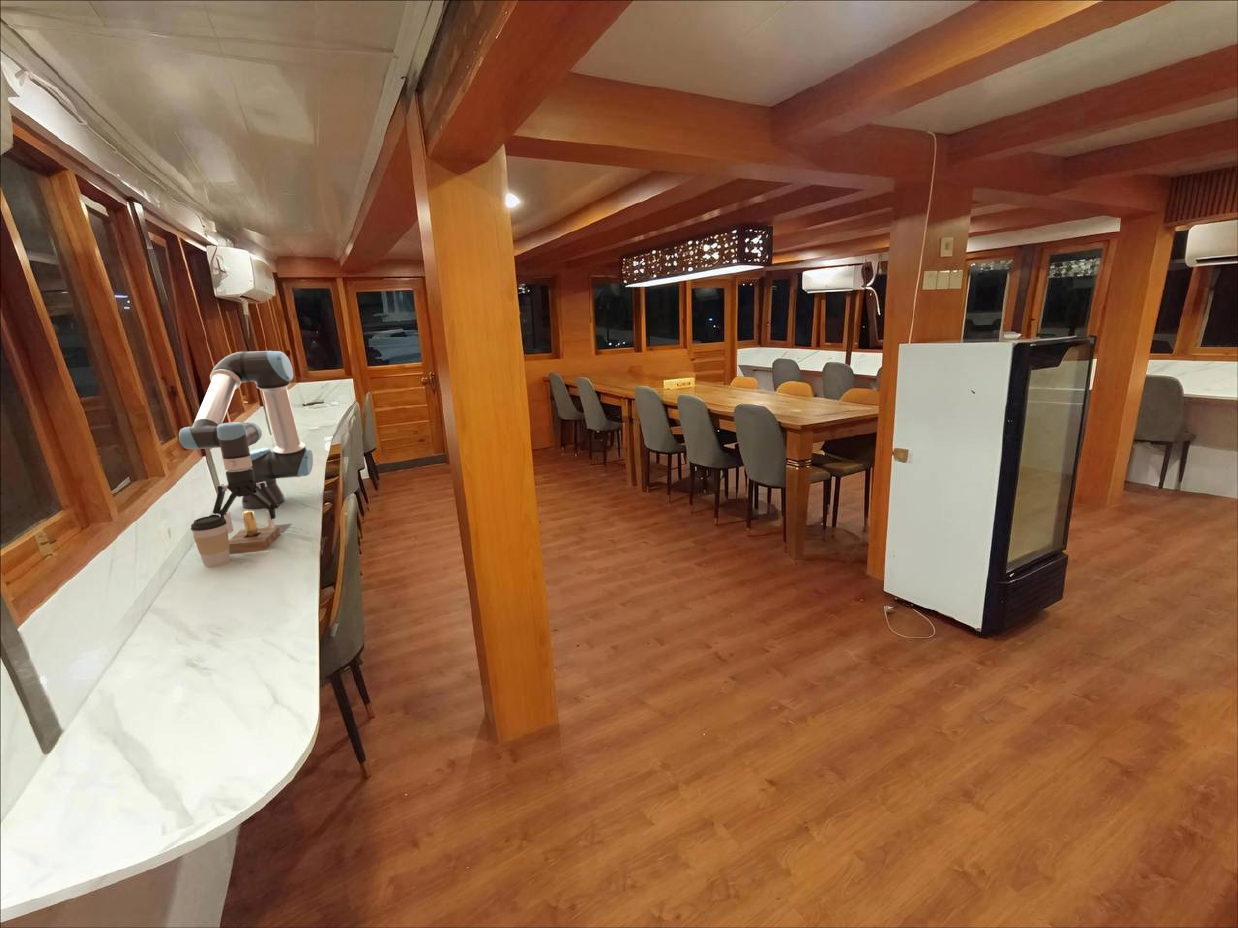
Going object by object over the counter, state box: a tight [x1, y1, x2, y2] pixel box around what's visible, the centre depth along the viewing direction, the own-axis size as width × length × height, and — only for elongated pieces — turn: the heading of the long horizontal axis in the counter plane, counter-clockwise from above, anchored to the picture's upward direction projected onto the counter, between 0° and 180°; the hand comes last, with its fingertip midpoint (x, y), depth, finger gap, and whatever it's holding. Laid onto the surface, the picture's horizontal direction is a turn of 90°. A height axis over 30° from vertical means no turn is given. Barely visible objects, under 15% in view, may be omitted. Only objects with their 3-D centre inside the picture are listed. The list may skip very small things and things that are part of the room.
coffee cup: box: [190, 513, 231, 568], centre depth 167 cm, size 9×9×15 cm
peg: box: [241, 509, 258, 538], centre depth 181 cm, size 3×3×12 cm
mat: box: [267, 523, 292, 534], centre depth 195 cm, size 10×8×1 cm
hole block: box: [229, 526, 282, 554], centre depth 182 cm, size 14×12×4 cm
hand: (251, 530), depth 181 cm, fingers open, 12 cm apart
